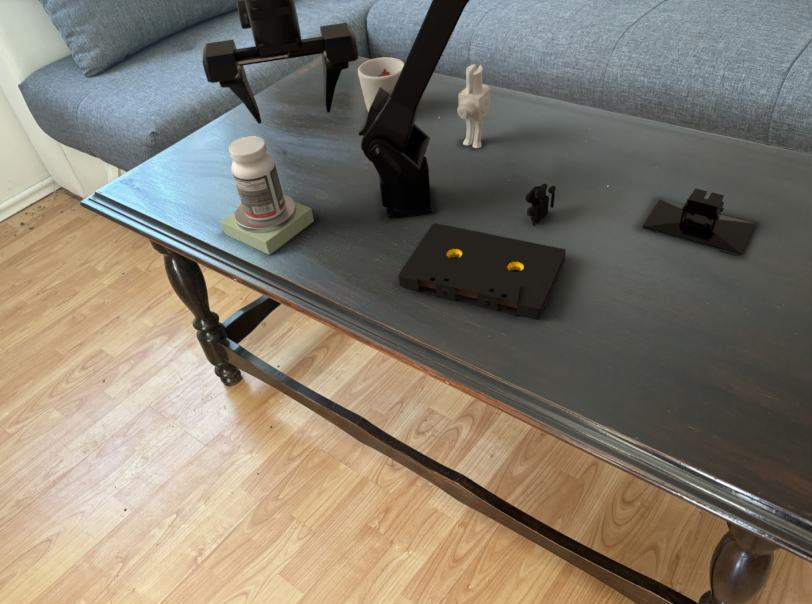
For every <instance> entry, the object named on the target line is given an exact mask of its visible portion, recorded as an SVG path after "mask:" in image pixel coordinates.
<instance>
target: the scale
mask: <svg viewBox="0 0 812 604" xmlns="http://www.w3.org/2000/svg"><path fill="white" fill-rule="evenodd" d="M283 196H284V199H285V208H284V210H283V211H282V213H281V214H279V215H278V216H276V217H274V218H272V219H268V220H254V219H251V218H249V217H248V216H247V215H246V214H245V211H244V208H243V205H242V203H240V204H239V205H238V206H237V208H236V210H235V211H234V212H233V213H231V214H230V215H228V216H227V217H225V218H224V219H223V220H221V221H220V223H221V226H222V229H223V231H224V234H225V235H226V236H228V237H229V238H232V239H234V240H237V241H238V242H240V243H242V244H245V245H247V246H249V247H252V248H253V249H255V250H258V251H260V252H261V253H264V254H266V255H268V256H270V255H272V254H273V253H274V252H275V251H277V250H278V249H280V248H281V247H282V246H283V245H285V244H286V243H287V242H289V241H290V240H291V239H293V238H294V237H296V236H297V235H298V234H299V233H301V232H302V231H303V230H305V229H306V228H308V226H310V225H311V224H312V223H314V221H315V219H314V214H313V210H312V208H311V207H309V206H307V205H304V204H302V203H299V202H297V201H294V200H293V199H292V198H291V197H290V196H289V195H286V194H283Z"/></svg>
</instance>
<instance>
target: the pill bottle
mask: <svg viewBox="0 0 812 604" xmlns="http://www.w3.org/2000/svg"><path fill="white" fill-rule="evenodd" d="M266 144H267V143H266V140H265V139H263V138H262V137H260V136H257V135H252V136H251V135H249V136H242V137H240V138H237V139H235V140H234V141H232V142H231V143H230V144H229V146H228V151H229V156H230V159H231V160H232V163H231V167H230V169H231V174H232V177H233V180H234V183H235V186H236V190H237V192H238V195H239V199H240V202H241V204H242V205H243V208H244V211H245V214H246V215H247V216H248V217H249V218H251V219H254V220H268V219H272V218H274V217H276V216H278V215H279V214H281V213H282V211H283V210H284V208H285V199H284V196H283V195H284V192H283V188H282V184H281V181H280V178H279V177H280V176H279V173H278V170H277V166H276V163H275V160H274V158H273V156H272V155H271V154H269V153H268V147H267V145H266Z"/></svg>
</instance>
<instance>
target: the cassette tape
mask: <svg viewBox="0 0 812 604" xmlns="http://www.w3.org/2000/svg"><path fill="white" fill-rule="evenodd" d="M566 253H567V250H566V249H565V248H561V247H556V246H551V245H546V244H543V243H542V244H541V243H537V242H530V241H526V240H521V239H516V238H511V237H506V236H502V235H497V234H491V233H486V232H481V231H476V230H471V229H467V228H461V227H457V226H452V225H446V224H441V223H436V222H434V223H432V224H431V225H430V227H429V229H428V230H427V232H426V233H425V234H424V236H423V238H422V239H421V240H420V241H419V243H418V244H417V246H416V248H415V249H414V251H413V252H412V253H411V255H410V256H409V258H408V259H407V261H406V263H405V264H404V266H402V268H401V270H400V272H399V273H398V283H399V286H400V287H403V288H407V289H411V290H415V291H418V293H420V294H424V295H429V296H433V297H437V298H441V299H445V300H450V301H453V302H456V303H462V304H466V305H470V306H475V307H479V308H483V309H488V310H491V311H496V312H499V313H503V314H508V315H511V316H517V315H520V316H523V317H528V318H532V319H536V320H538V319H540V318H541V316H542V314H543V311H544V309H545V308H546V305H547V302H548V300H549V298H550V296H551V293H552V291H553V289H554V286H555V284H556V283H557V279H558V277H559V275H560V273H561V270H562V268H563V266H564V263H565V260H566ZM433 291H434V292H435V294H434V293H432V292H433ZM446 293H447V294H446ZM502 308H505V309H506V310H502Z"/></svg>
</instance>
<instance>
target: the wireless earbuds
mask: <svg viewBox="0 0 812 604" xmlns="http://www.w3.org/2000/svg"><path fill="white" fill-rule="evenodd" d="M556 191H557V187H556V185H551V186H549V187H548V184H547V183H542V184H540V185H535V186H534V187H532V189H531V190H529V191H528V192H527V193H526V195H525V201H526V202H527V203H528V204H530V205H531V206H528V207H527V210H526V214H527V217H530V221H531V222H532V223H531V226H532V227H536V224H539V223H541V222H542V221H543V219H545V218H546V216H548V213H549V206H550V208H551V209H554V208H555V198H556V197H555V196H556V195H555V193H556ZM547 192H548V193H549V194H550V196H548V195H547Z"/></svg>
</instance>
